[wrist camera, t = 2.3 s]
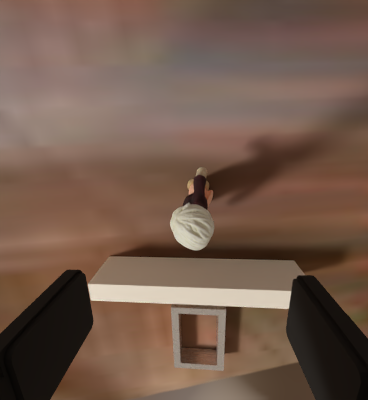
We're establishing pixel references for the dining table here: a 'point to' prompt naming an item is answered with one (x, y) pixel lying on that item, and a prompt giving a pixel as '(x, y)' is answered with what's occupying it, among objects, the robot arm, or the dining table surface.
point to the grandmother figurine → (194, 214)
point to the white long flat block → (195, 281)
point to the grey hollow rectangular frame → (197, 356)
